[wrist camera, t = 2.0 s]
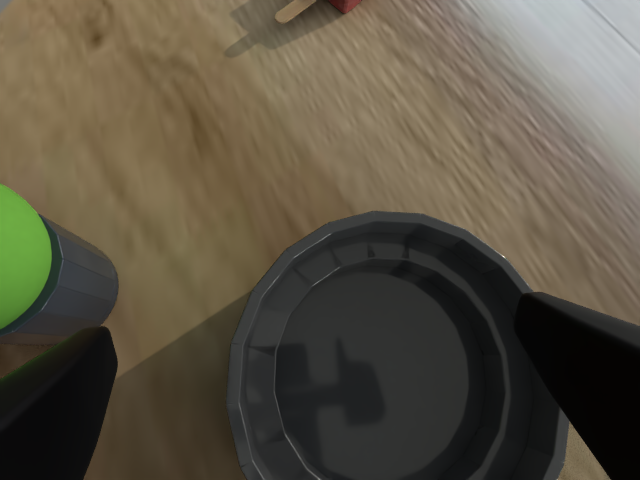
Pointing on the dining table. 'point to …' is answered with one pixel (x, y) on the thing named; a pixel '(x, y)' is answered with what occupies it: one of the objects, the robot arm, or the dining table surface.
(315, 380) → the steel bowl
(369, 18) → the dining table surface
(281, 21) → the popsicle
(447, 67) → the dining table surface
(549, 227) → the dining table surface
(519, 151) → the dining table surface
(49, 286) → the stand cup
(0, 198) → the ball
